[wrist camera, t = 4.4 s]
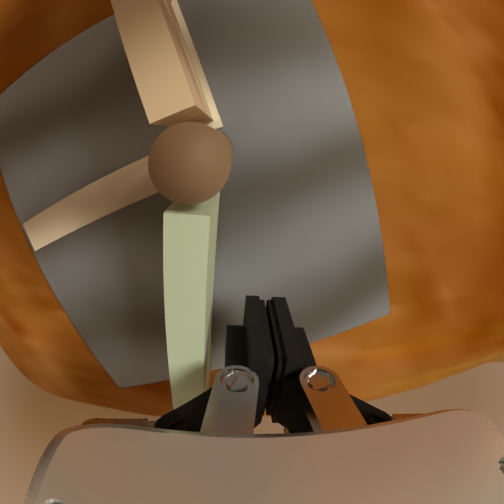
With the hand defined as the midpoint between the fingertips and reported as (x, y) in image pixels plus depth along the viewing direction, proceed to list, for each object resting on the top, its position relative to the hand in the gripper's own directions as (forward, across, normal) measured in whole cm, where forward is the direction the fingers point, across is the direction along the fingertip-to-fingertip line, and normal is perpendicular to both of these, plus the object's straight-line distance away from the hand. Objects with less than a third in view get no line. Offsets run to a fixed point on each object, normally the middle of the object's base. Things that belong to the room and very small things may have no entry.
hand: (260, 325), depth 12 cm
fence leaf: (+3, +3, 0) cm, 4 cm away
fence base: (+4, +5, -5) cm, 8 cm away
